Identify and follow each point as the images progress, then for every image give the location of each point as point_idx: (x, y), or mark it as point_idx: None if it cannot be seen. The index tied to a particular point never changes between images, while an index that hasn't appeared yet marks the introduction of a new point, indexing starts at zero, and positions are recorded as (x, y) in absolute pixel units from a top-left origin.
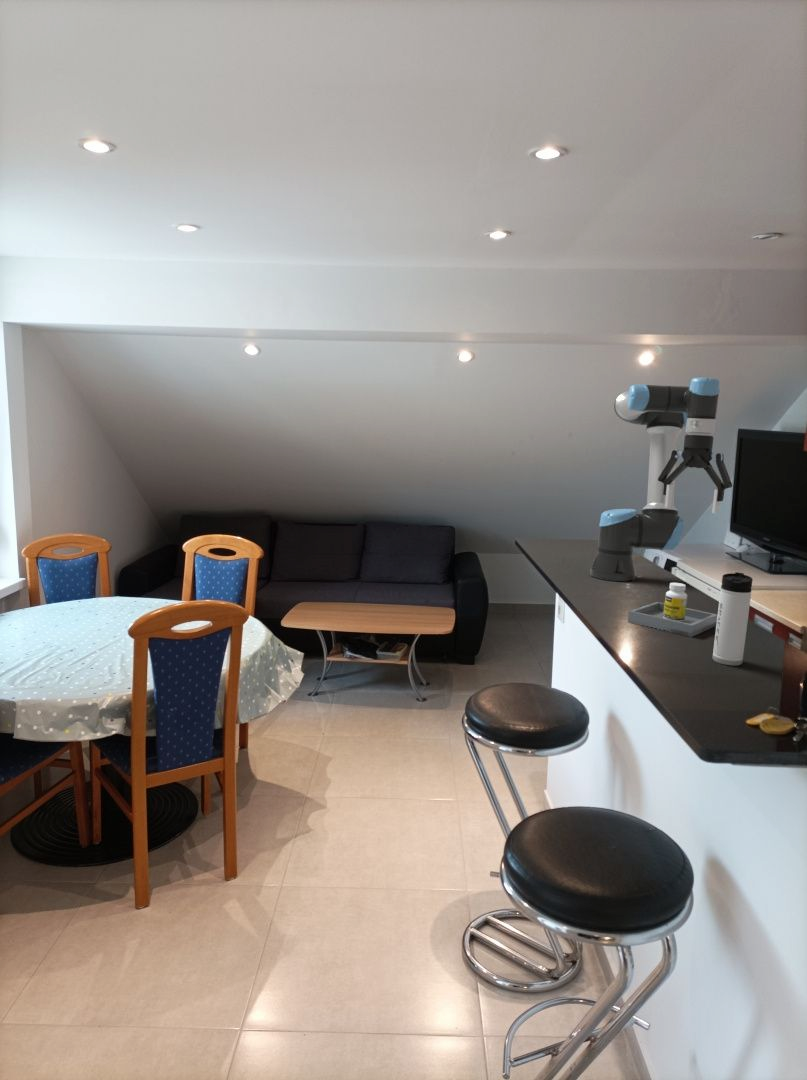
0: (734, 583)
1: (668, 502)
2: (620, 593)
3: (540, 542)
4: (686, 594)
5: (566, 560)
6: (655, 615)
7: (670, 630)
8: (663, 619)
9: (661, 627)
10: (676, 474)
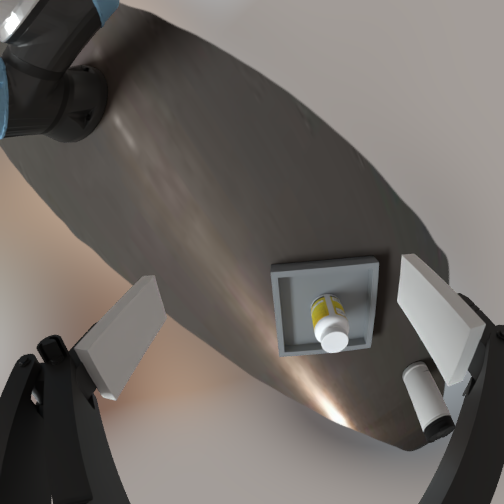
0: (437, 438)
1: (155, 323)
2: (154, 197)
3: None
4: (348, 326)
5: None
6: (294, 306)
7: None
8: None
9: None
10: (112, 464)
